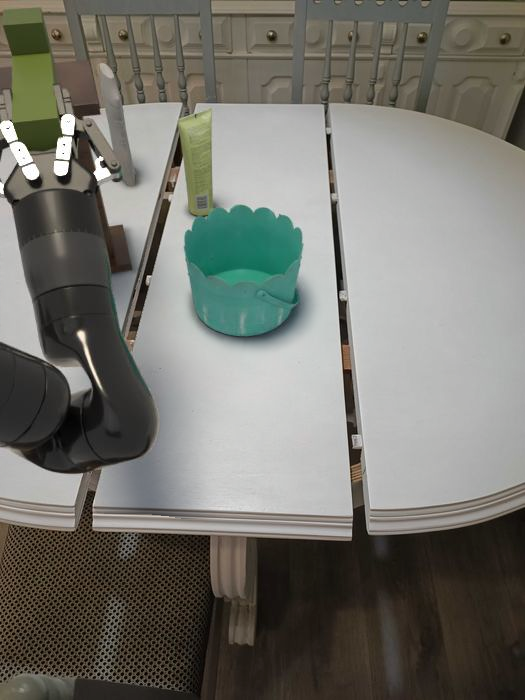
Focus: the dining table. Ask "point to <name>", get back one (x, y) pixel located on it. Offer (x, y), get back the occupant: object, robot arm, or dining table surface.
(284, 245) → the bucket
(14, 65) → the green l-shaped block
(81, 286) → the robot arm
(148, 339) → the dining table surface
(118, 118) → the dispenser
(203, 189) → the tube
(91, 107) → the brown wooden podium
